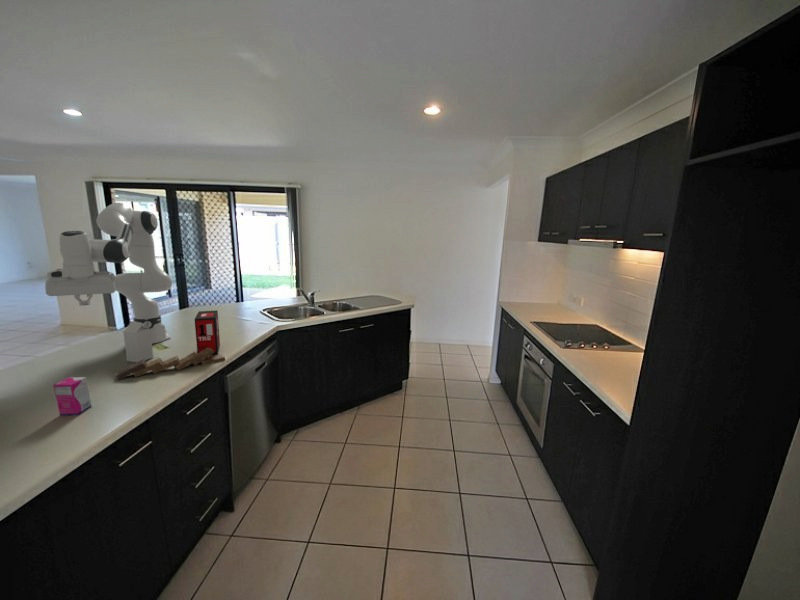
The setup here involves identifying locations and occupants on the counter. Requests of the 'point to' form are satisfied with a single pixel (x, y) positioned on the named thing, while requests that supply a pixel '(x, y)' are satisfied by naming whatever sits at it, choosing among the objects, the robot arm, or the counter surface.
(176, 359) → the tile
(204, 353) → the tile
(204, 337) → the cleaning product box
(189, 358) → the tile
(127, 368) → the tile
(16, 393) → the counter surface
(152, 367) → the tile
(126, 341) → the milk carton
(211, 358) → the tile
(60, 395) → the supplement box
